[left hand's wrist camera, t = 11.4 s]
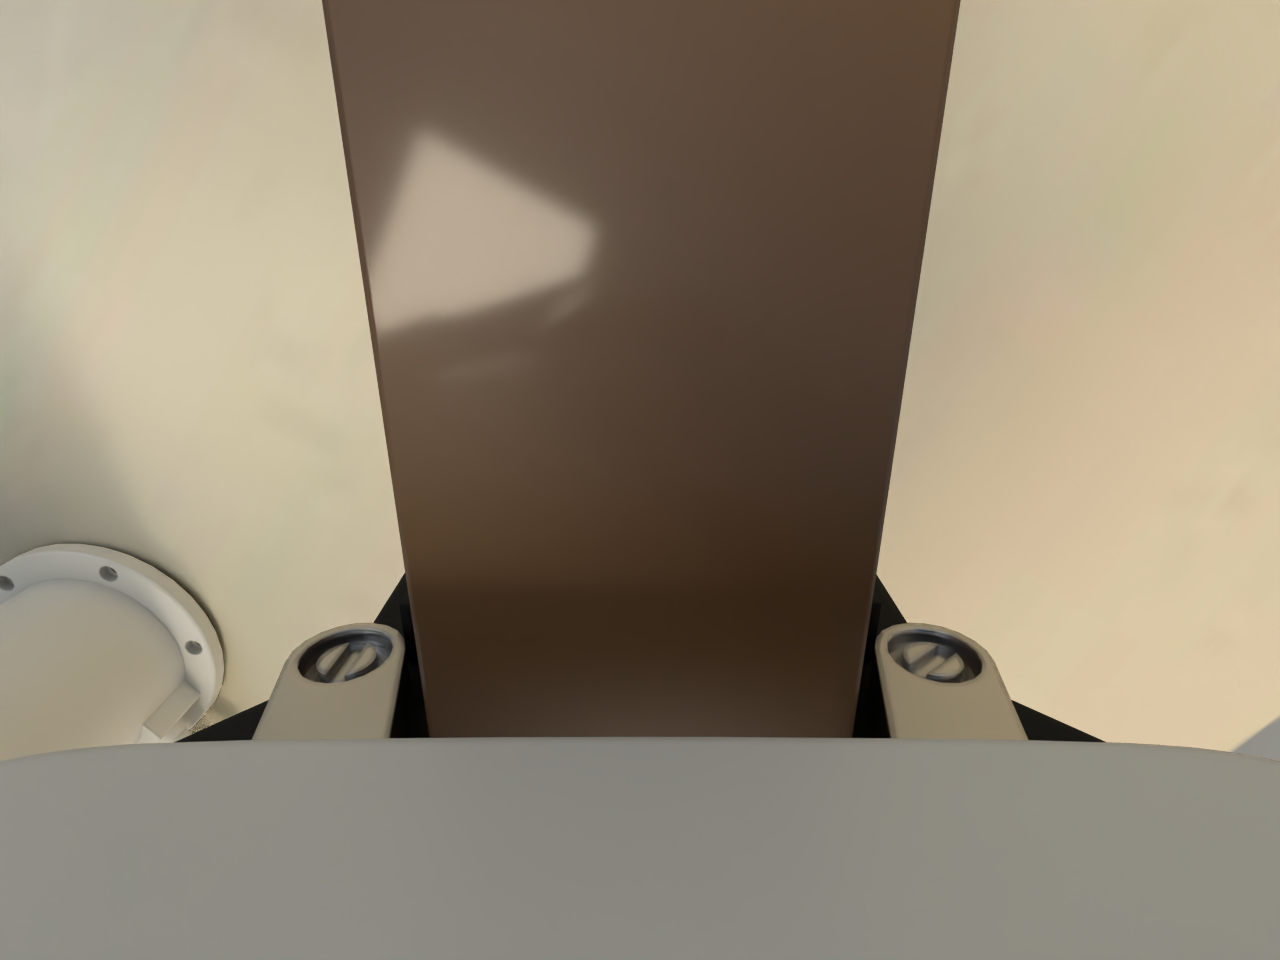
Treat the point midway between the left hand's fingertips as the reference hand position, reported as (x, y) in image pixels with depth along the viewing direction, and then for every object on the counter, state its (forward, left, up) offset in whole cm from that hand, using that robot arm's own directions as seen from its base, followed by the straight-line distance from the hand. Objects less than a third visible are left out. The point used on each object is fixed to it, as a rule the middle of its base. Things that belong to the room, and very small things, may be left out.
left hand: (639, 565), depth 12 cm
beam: (+22, -16, -3) cm, 28 cm away
